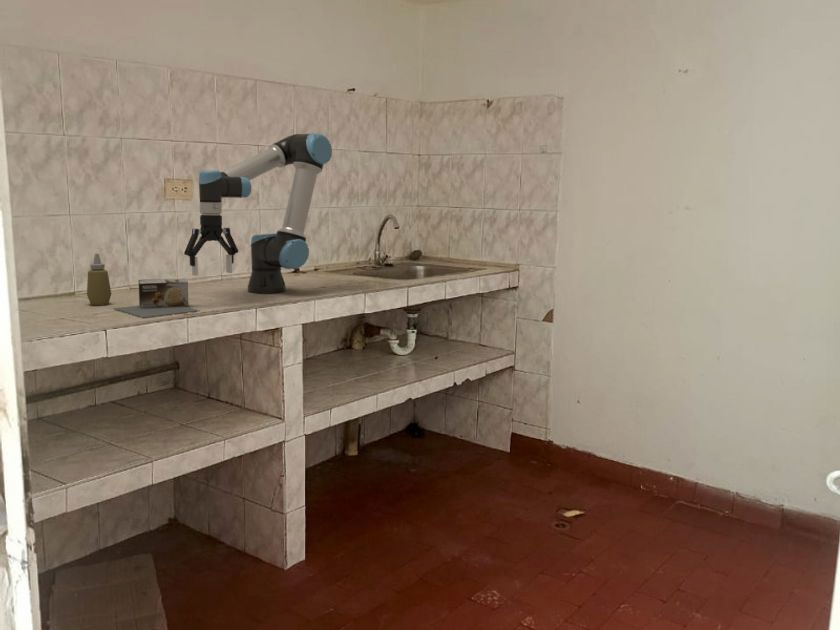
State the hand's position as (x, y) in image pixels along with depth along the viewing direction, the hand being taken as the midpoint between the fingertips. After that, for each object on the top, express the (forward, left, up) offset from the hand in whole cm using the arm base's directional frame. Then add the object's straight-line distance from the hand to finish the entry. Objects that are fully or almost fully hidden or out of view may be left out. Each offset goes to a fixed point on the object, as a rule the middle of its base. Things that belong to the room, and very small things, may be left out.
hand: (212, 274), depth 268 cm
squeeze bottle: (+31, -24, -11) cm, 41 cm away
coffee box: (+9, -1, -6) cm, 11 cm away
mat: (+22, 0, -11) cm, 24 cm away
